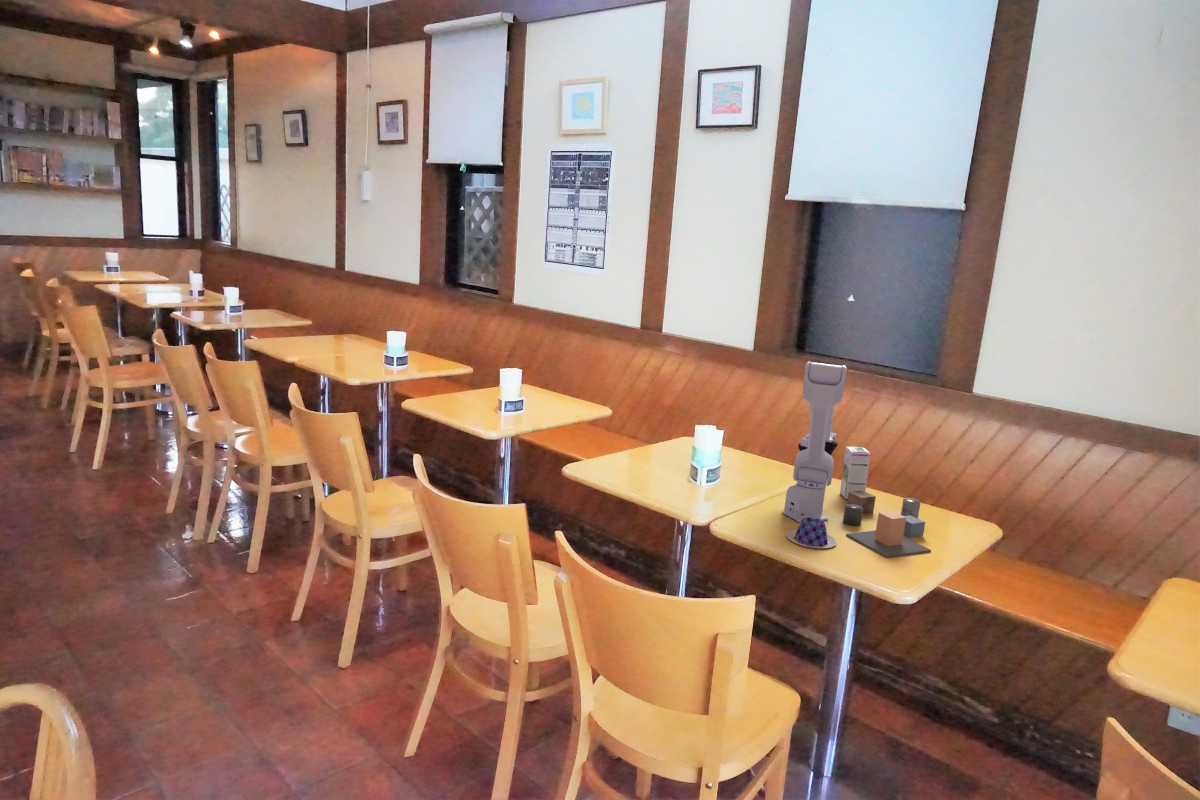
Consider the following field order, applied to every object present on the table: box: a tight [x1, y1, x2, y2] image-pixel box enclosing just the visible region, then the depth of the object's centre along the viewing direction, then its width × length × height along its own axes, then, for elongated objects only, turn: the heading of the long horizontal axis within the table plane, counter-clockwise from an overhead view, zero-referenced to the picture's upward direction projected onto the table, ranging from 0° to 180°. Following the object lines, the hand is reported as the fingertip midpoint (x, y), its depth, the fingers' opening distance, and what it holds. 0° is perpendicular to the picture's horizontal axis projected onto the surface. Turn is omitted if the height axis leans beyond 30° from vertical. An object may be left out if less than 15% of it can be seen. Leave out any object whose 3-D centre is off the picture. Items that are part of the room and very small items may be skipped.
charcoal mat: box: [845, 529, 932, 559], centre depth 196 cm, size 14×14×1 cm
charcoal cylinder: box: [842, 503, 863, 527], centre depth 209 cm, size 5×5×4 cm
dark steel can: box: [900, 497, 922, 519], centre depth 214 cm, size 4×4×6 cm
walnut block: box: [846, 490, 877, 515], centre depth 218 cm, size 5×5×5 cm
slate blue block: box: [903, 515, 926, 539], centre depth 204 cm, size 4×5×4 cm
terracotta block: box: [875, 510, 906, 546], centre depth 195 cm, size 4×4×7 cm
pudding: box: [785, 518, 837, 549], centre depth 194 cm, size 12×12×5 cm
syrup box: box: [839, 446, 871, 500], centre depth 229 cm, size 6×6×14 cm
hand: (815, 467), depth 223 cm, fingers open, 7 cm apart
